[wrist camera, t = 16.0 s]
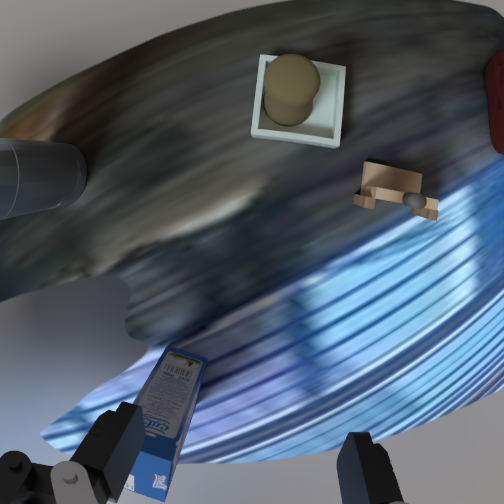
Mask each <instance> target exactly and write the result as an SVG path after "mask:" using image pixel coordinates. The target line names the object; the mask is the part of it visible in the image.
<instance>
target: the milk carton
mask: <svg viewBox="0 0 504 504" xmlns="http://www.w3.org/2000/svg"><path fill="white" fill-rule="evenodd" d="M206 362H207V358H204V357H200V356H197V355H194V354H190V353H187V352H184V351H180V350H177V349H174V348H171V347H168V346H167V347H166V349H165V350H164V352H163V354H162V355H161V357H160V359H159V360H158V362H157V364H156V365H155V367H154V369H153V370H152V372H151V374H150V375H149V377H148V379H147V380H146V382H145V384H144V386H143V387H142V389H141V391H140V392H139V394H138V396H137V397H136V399H135V401H134V403H133V404H135V405H139V406H141V407H142V411H143V418H144V425H145V440H144V444H143V446H142V448H141V450H140V453H139V455H138V457H137V459H136V461H135V464H134V466H133V468H132V470H131V472H130V475H129V477H128V479H127V481H126V483H125V486H124V488H125V489H128V490H131V491H133V492H136V493H139V494H142V495H145V496H147V497H151V498H153V499H157V500H160V501H163V502H165V499H166V496H167V493H168V489H169V486H170V484H171V481H172V477H173V474H174V471H175V468H176V465H177V462H178V459H179V456H180V453H181V450H182V447H183V444H184V441H185V438H186V435H187V432H188V428H189V425H190V422H191V419H192V416H193V413H194V410H195V407H196V404H197V400H198V395H199V391H200V387H201V383H202V379H203V374H204V370H205V366H206Z"/></svg>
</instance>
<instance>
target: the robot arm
mask: <svg viewBox="0 0 504 504" xmlns="http://www.w3.org/2000/svg"><path fill="white" fill-rule="evenodd" d="M86 177H87V167H86V161H85V159H84V156H83V154H82V153H81V151H80V150H79V149H78V148H77V147H75V146H74V145H72V144H67V143H57V142H47V141H35V140H20V139H1V138H0V220H2V219H6V218H10V217H15V216H19V215H23V214H28V213H32V212H37V211H42V210H46V209H52V208H56V207H61V206H66V205H69V204H71V203H73V202H74V201H75V200H77V199H78V197H79V196H80V195H81V193H82V191H83V189H84V186H85V183H86ZM144 440H145V425H144V418H143V411H142V407H141V406H139V405H135V404H131V403H128V402H124V401H123V402H121V404H120V405H119V407H118V408H117V410H116V412H114V411H111V410H108V411H106V412H105V413H103V414H102V415H100V416H99V417H98V418H97V420H96V421H95V423H94V424H93V427H91V429H90V430H89V432H88V434H87V435H86V436H85V438H84V439H83V441H82V442H81V444H80V445H79V447H78V448H77V450H76V452H75V453H74V455H73V456H72V458H71V459H70V460H69V461H63V462H60V463H58V464H56V465H55V466H47V465H42V464H36V463H32V462H31V461H30V459H29V458H28V456H27V455H26V454H24V453H22V452H20V451H9V452H7V453H5V454H4V455H2V456H1V458H0V504H106V503H107V501H111V502H114V503H117V501H118V499H119V497H120V494H121V492H122V490H123V488H124V486H125V483H126V481H127V479H128V477H129V475H130V472H131V470H132V468H133V466H134V464H135V461H136V459H137V457H138V455H139V453H140V450H141V448H142V446H143V444H144ZM337 472H338V479H339V485H340V490H341V496H342V503H343V504H408V503H405V502H404V500H403V498H402V495H401V492H400V489H399V486H398V483H397V479H396V476H395V473H394V472H393V468H392V465H391V464H390V459H389V456H388V453H387V451H386V450H385V449H384V448H383V447H382V446H381V445H380V444H379V443H377V444H373V442H372V439H371V436H370V433H369V432H349V433H348V435H347V437H346V440H345V442H344V444H343V446H342V449H341V451H340V453H339V455H338V459H337Z"/></svg>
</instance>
